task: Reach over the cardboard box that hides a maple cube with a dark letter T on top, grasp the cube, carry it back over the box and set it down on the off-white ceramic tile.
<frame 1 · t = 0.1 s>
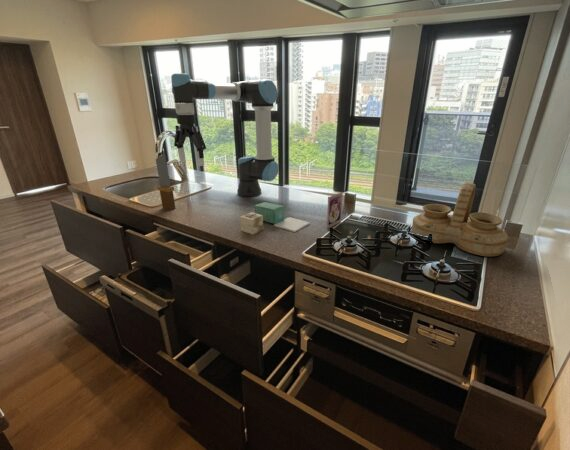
hand: (191, 164, 135), 28 cm above the worktop, fingers open, 13 cm apart
ceramic vessel: (453, 242, 122), on the worktop
tile: (292, 225, 140), on the worktop
box: (270, 220, 145), on the worktop, touching tile
letter cube: (252, 230, 135), on the worktop
knife: (169, 208, 164), on the worktop
greeting card: (328, 223, 142), on the worktop
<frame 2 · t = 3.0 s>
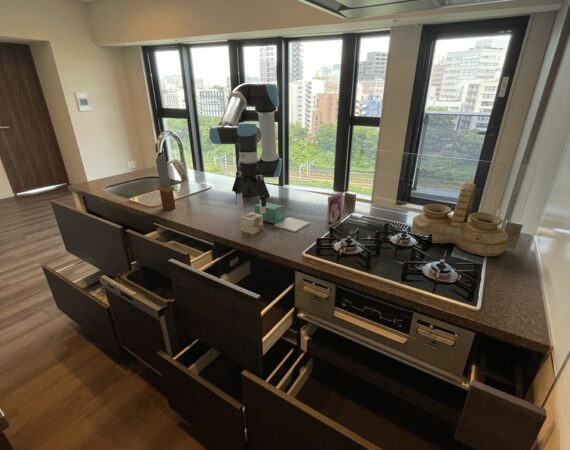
hand: (251, 210, 131), 10 cm above the worktop, fingers open, 13 cm apart
nothing on the worktop moved.
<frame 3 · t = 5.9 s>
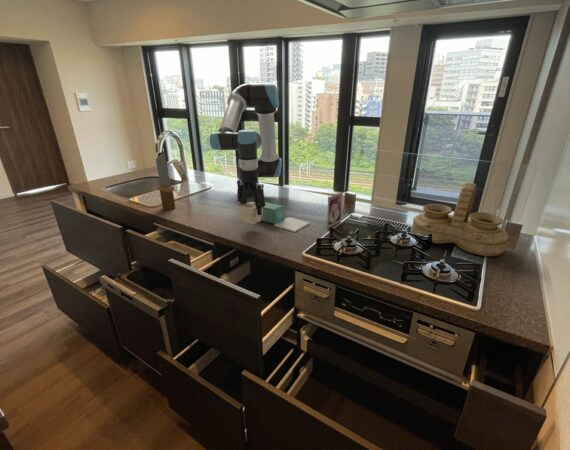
hand: (252, 219, 134), 5 cm above the worktop, fingers closed on letter cube, 7 cm apart
letter cube: (252, 219, 134), point 5 cm above the worktop, touching gripper
everything else where it was.
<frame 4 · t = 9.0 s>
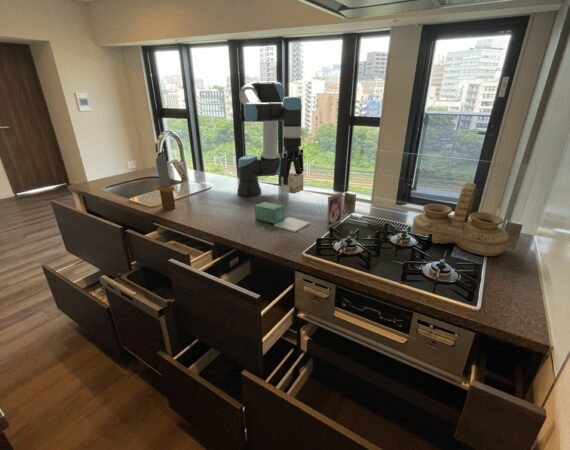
hand: (292, 189, 133), 17 cm above the worktop, fingers closed on letter cube, 7 cm apart
letter cube: (292, 190, 133), point 17 cm above the worktop, touching gripper
everything else where it was.
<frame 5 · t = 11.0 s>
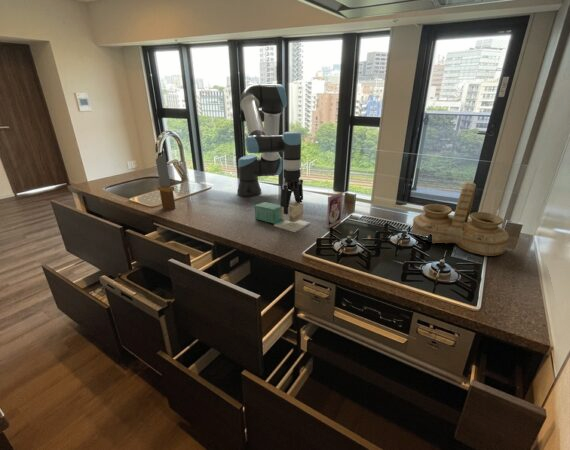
hand: (292, 217, 139), 4 cm above the worktop, fingers closed on letter cube, 7 cm apart
letter cube: (292, 218, 139), point 3 cm above the worktop, touching gripper
everything else where it was.
when the fingers open (2 cm above the worktop, at t = 12.4 s): letter cube stays where it is, resting on tile.
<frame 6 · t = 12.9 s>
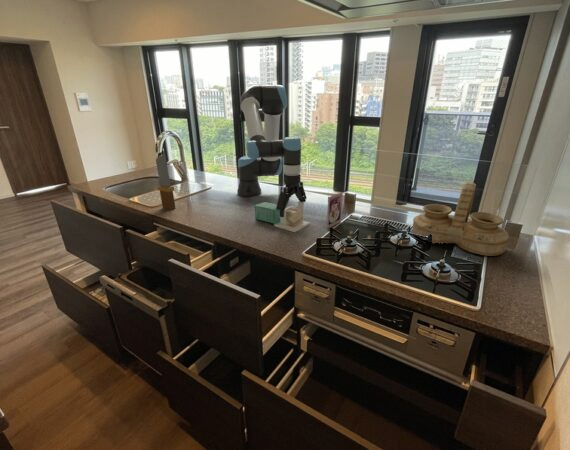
hand: (292, 218, 139), 3 cm above the worktop, fingers open, 13 cm apart
letter cube: (292, 223, 140), point 1 cm above the worktop, touching tile
everything else where it was.
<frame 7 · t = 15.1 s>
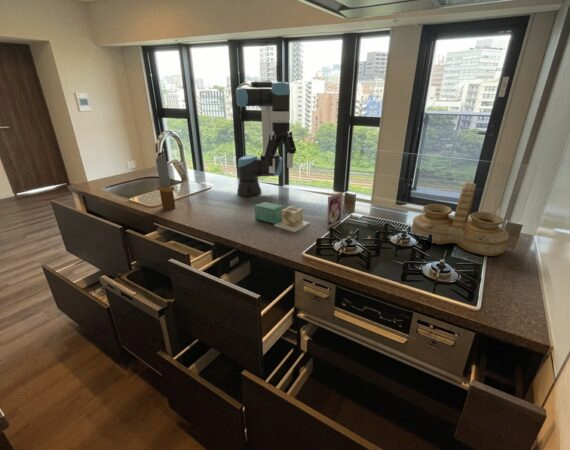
hand: (281, 170, 137), 25 cm above the worktop, fingers open, 13 cm apart
nothing on the worktop moved.
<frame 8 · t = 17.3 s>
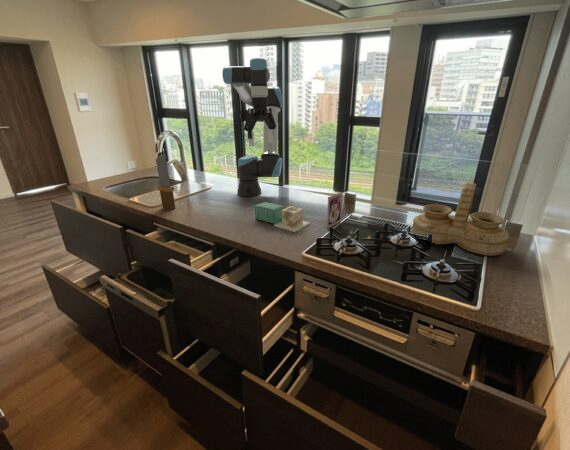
hand: (261, 144, 144), 35 cm above the worktop, fingers open, 13 cm apart
at the end: letter cube inside the target area on the tile (0.1 cm from its centre), point 0.8 cm above the tile's base; letter cube tilted 0°; the gripper is holding nothing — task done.
